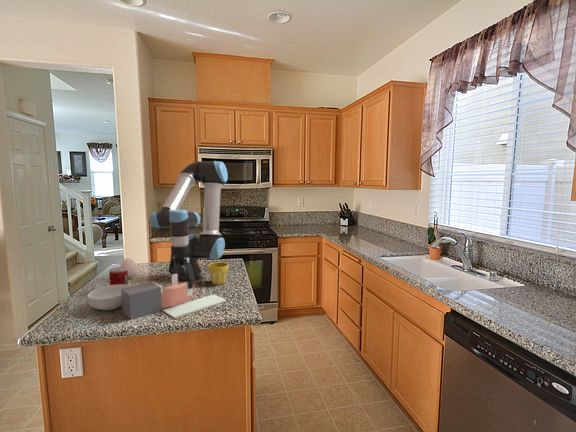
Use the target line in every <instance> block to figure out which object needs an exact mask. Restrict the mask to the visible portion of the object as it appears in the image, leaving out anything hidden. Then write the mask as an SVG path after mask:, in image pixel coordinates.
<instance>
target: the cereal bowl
mask: <svg viewBox="0 0 576 432" xmlns="http://www.w3.org/2000/svg"><path fill="white" fill-rule="evenodd" d="M132 286H133V285H129V284H128V285H124V284H120V285H110V284H109V285H106V286H102V287H99V288H96V289H94V290H92V291H90V292H89V293H88V294H86V295H87V296H86V299H87V302H88V305H89V306H90V307H92V308H93V309H97V310H102V311H111V310H112V311H113V310H116V309H119V308H121V307H122V296H121V289H123V288H128V287H132Z"/></svg>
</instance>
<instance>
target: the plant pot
mask: <svg viewBox="0 0 576 432" xmlns="http://www.w3.org/2000/svg"><path fill="white" fill-rule="evenodd" d="M207 269H208V270H207V271H208V272H209V275H210V278H211V283H212V284H213V285H215V286H216V285H224V284H225V283H226V279H227V274H228V271H229V263H228V262H226V261H225V262H224V261H223V262H222V261H216V262H211V263H209V264H208V266H207Z"/></svg>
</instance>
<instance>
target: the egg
mask: <svg viewBox="0 0 576 432" xmlns="http://www.w3.org/2000/svg"><path fill="white" fill-rule="evenodd" d="M119 267H127V271H128V280H130V279H132V278H133V277H134V276H135V275H136V274H137V264H136V263H135V261H134V260H133V259H132V258H129V257H127V258H125V259H123V260H122V262H121V263H120V265H119Z"/></svg>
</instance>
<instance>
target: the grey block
mask: <svg viewBox="0 0 576 432" xmlns="http://www.w3.org/2000/svg"><path fill="white" fill-rule="evenodd" d="M131 286H132V287H128V288H123V289H121V296H122V306H121V307H122V314H123V313H124V314H123V315H124V316H126V317H127V318H128V317H129V318H130V319H129V318H128V319H129V320H131V319H132V320H135V319H138V317H139V318H141V316H142V317H145V316H148V315H151V313H152V314H154V313H158V312H160V311H163V310H162V309H163V308H162V306H161V293H162V292H163V288H164V286H163V285H160V284H159V283H157V282H155V281H150V282H144V283H142V284H137V285H131ZM134 318H135V319H134Z"/></svg>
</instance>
